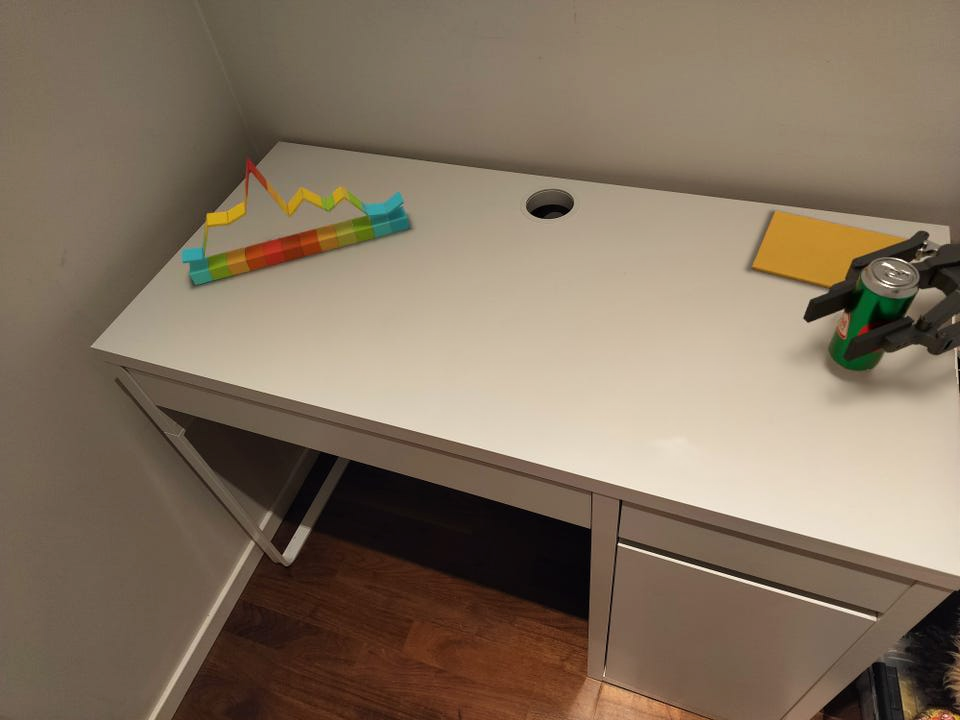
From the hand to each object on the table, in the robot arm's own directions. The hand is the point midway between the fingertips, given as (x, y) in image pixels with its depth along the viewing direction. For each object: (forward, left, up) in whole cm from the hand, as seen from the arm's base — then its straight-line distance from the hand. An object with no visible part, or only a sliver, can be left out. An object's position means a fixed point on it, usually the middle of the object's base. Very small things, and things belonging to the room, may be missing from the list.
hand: (829, 330), depth 66 cm
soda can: (-3, -4, -7) cm, 9 cm away
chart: (+66, +4, -8) cm, 67 cm away
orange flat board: (+2, -21, -8) cm, 23 cm away
